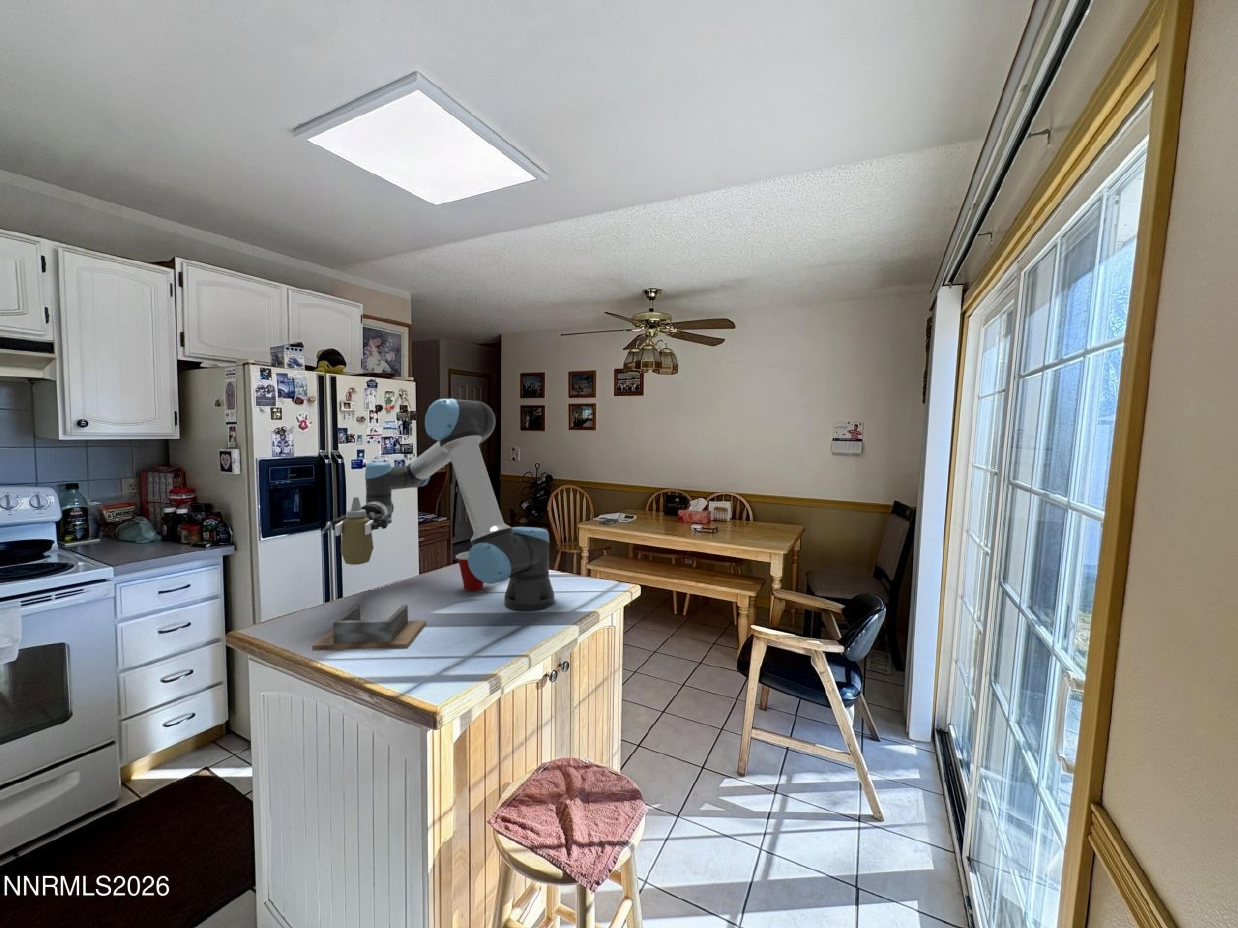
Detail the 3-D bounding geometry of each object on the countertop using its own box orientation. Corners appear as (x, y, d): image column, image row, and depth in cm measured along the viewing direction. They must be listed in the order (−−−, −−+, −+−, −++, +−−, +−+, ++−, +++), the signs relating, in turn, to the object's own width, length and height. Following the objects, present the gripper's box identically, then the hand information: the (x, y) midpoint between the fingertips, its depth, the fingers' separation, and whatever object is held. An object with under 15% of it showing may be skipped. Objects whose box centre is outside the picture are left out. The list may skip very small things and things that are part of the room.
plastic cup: (464, 582, 175) (464, 548, 174) (494, 584, 173) (494, 549, 172) (449, 592, 164) (449, 556, 163) (481, 594, 162) (481, 557, 162)
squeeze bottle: (360, 567, 135) (358, 499, 134) (333, 565, 137) (332, 498, 135) (380, 559, 143) (379, 496, 142) (355, 557, 144) (353, 494, 143)
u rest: (426, 624, 138) (425, 602, 137) (407, 647, 123) (406, 623, 122) (341, 625, 136) (341, 603, 136) (312, 649, 121) (311, 624, 121)
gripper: (406, 526, 159) (391, 542, 137) (337, 528, 154) (310, 545, 132) (405, 502, 158) (391, 514, 136) (336, 504, 154) (310, 517, 131)
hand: (351, 530), depth 134 cm, fingers closed on squeeze bottle, 6 cm apart
